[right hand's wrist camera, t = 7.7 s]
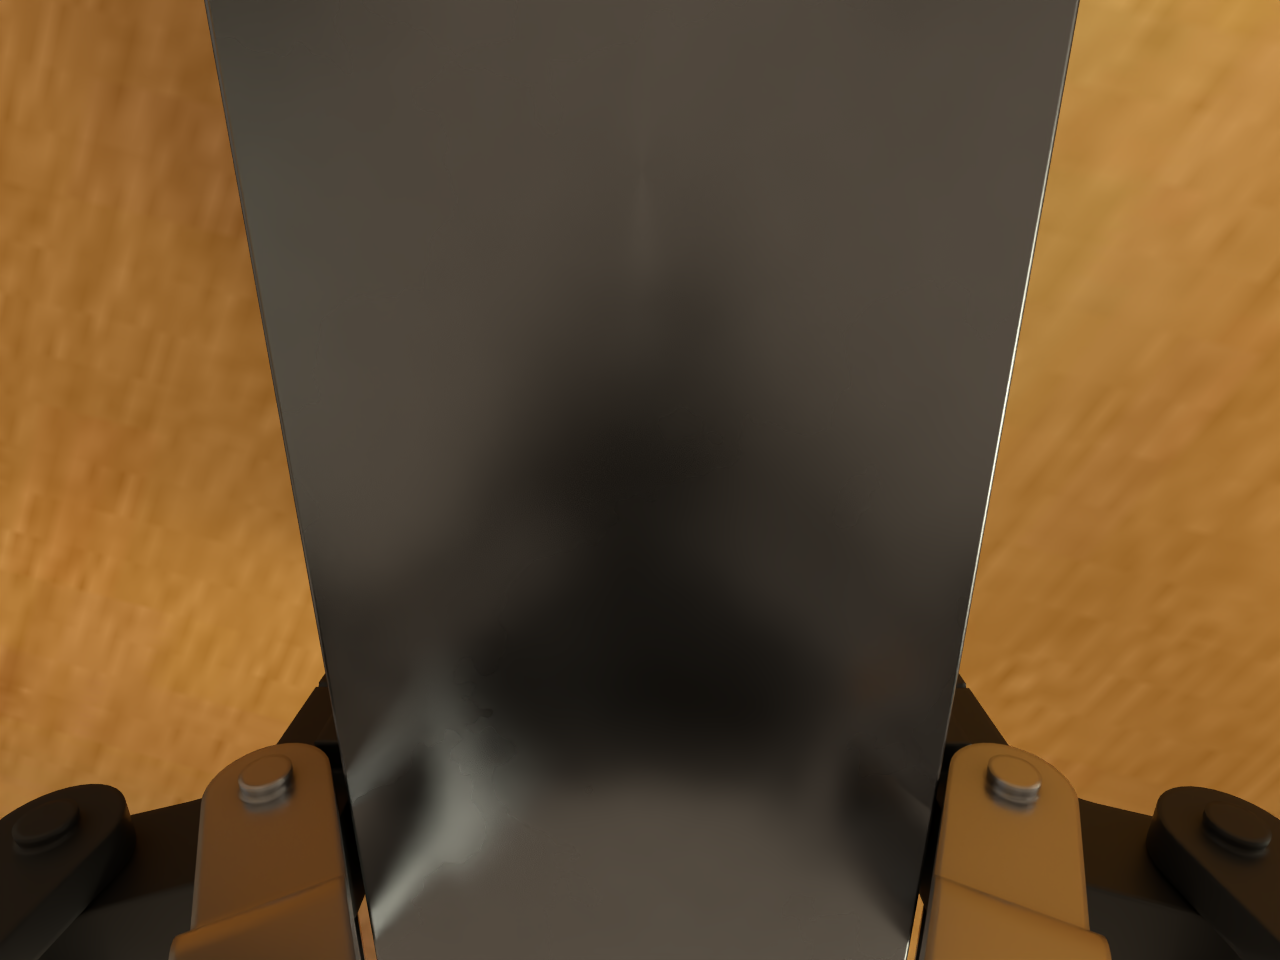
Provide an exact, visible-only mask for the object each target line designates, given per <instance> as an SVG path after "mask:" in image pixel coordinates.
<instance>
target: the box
mask: <svg viewBox="0 0 1280 960" xmlns="http://www.w3.org/2000/svg"><path fill="white" fill-rule="evenodd" d="M204 2H205V7H206V13H207V18H208V24H209V29H210V35H211V41H212V46H213V52H214V57H215V63H216V68H217V74H218V79H219V85H220V90H221V96H222V102H223V107H224V113H225V118H226V124H227V129H228V135H229V140H230V146H231V152H232V157H233V163H234V168H235V174H236V179H237V185H238V190H239V196H240V201H241V207H242V213H243V218H244V224H245V229H246V235H247V240H248V246H249V251H250V257H251V263H252V268H253V274H254V279H255V285H256V290H257V296H258V301H259V307H260V312H261V318H262V324H263V329H264V335H265V340H266V346H267V351H268V357H269V362H270V368H271V374H272V379H273V385H274V390H275V396H276V401H277V407H278V412H279V418H280V423H281V429H282V435H283V440H284V446H285V451H286V457H287V462H288V468H289V473H290V479H291V485H292V490H293V496H294V501H295V507H296V512H297V518H298V523H299V529H300V534H301V540H302V546H303V551H304V557H305V562H306V568H307V573H308V579H309V584H310V590H311V596H312V601H313V607H314V612H315V618H316V623H317V629H318V634H319V640H320V645H321V651H322V657H323V662H324V668H325V673H326V679H327V684H328V690H329V695H330V701H331V707H332V712H333V718H334V723H335V729H336V734H337V740H338V745H339V751H340V756H341V762H342V768H343V773H344V779H345V784H346V790H347V795H348V801H349V806H350V812H351V818H352V823H353V829H354V834H355V840H356V845H357V851H358V856H359V862H360V867H361V873H362V879H363V884H364V890H365V895H366V901H367V906H368V912H369V917H370V923H371V928H372V934H373V940H374V945H375V951H376V956H377V960H907V956H908V950H909V945H910V939H911V934H912V928H913V923H914V917H915V912H916V906H917V900H918V895H919V889H920V884H921V878H922V873H923V867H924V862H925V856H926V851H927V845H928V839H929V834H930V828H931V823H932V817H933V812H934V806H935V801H936V795H937V790H938V784H939V778H940V773H941V767H942V762H943V756H944V751H945V745H946V740H947V734H948V729H949V723H950V717H951V712H952V706H953V701H954V695H955V690H956V684H957V679H958V673H959V667H960V662H961V656H962V651H963V645H964V640H965V634H966V629H967V623H968V618H969V612H970V606H971V601H972V595H973V590H974V584H975V579H976V573H977V568H978V562H979V557H980V551H981V545H982V540H983V534H984V529H985V523H986V518H987V512H988V507H989V501H990V496H991V490H992V484H993V479H994V473H995V468H996V462H997V457H998V451H999V446H1000V440H1001V435H1002V429H1003V423H1004V418H1005V412H1006V407H1007V401H1008V396H1009V390H1010V385H1011V379H1012V374H1013V368H1014V362H1015V357H1016V351H1017V346H1018V340H1019V335H1020V329H1021V324H1022V318H1023V313H1024V307H1025V301H1026V296H1027V290H1028V285H1029V279H1030V274H1031V268H1032V263H1033V257H1034V252H1035V246H1036V240H1037V235H1038V229H1039V224H1040V218H1041V213H1042V207H1043V202H1044V196H1045V190H1046V185H1047V179H1048V174H1049V168H1050V163H1051V157H1052V152H1053V146H1054V141H1055V135H1056V129H1057V124H1058V118H1059V113H1060V107H1061V102H1062V96H1063V91H1064V85H1065V80H1066V74H1067V68H1068V63H1069V57H1070V52H1071V46H1072V41H1073V35H1074V30H1075V24H1076V19H1077V13H1078V7H1079V2H1080V0H204Z"/></svg>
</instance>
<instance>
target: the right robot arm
mask: <svg viewBox="0 0 1280 960" xmlns="http://www.w3.org/2000/svg"><path fill="white" fill-rule="evenodd" d="M919 894H920V896H921V899H922V901H923V904H924V905H923V911H922V916H921V922H920V927H919V934H918V940H917V947H916V953H915V960H1280V820H1279V819H1278V818H1276V817H1274V816H1273V815H1271V814H1270V813H1268V812H1267V811H1265V810H1263V809H1261V808H1259V807H1257V806H1256V805H1254V804H1252V803H1249V802H1247V801H1245V800H1243V799H1241V798H1238V797H1235V796H1233V795H1230V794H1227V793H1224V792H1220V791H1217V790H1213V789H1208V788H1202V787H1192V786H1188V787H1177V788H1172V789H1170V790H1167V791H1165V792H1164V793H1163V794H1162V795H1161V796H1160V798H1159V799H1158V802H1157V805H1156V808H1155V811H1154V814H1153V816H1148V815H1144V814H1140V813H1135V812H1131V811H1127V810H1122V809H1118V808H1114V807H1109V806H1105V805H1101V804H1097V803H1093V802H1089V801H1086V800H1083V799H1080V798H1078V797H1077V794H1076V792H1075V790H1074V788H1073V786H1072V785H1071V784H1070V782H1069V781H1068V780H1067V779H1066V778H1065V777H1064V775H1063V774H1062V773H1060V772H1059V771H1058V770H1057V769H1056V768H1054V767H1053V766H1052V765H1050V764H1049V763H1047V762H1046V761H1044V760H1043V759H1041V758H1039V757H1037V756H1035V755H1033V754H1031V753H1029V752H1026V751H1024V750H1021V749H1018V748H1015V747H1011V746H1009V745H1008V744H1007V742H1006V741H1005V740H1004V738H1003V737H1002V735H1001V734H1000V732H999V731H998V729H997V728H996V727H995V725H994V724H993V722H992V721H991V719H990V718H989V716H988V715H987V714H986V712H985V711H984V709H983V708H982V706H981V705H980V703H979V702H978V701H977V699H976V698H975V696H974V695H973V693H972V692H971V690H970V689H969V688H966V683H965V682H964V680H963V679H962V677H961V676H960V675H959V673H958V679H957V684H956V690H955V695H954V701H953V706H952V712H951V717H950V723H949V729H948V734H947V740H946V745H945V751H944V756H943V762H942V767H941V773H940V778H939V784H938V790H937V795H936V801H935V806H934V812H933V817H932V823H931V828H930V834H929V839H928V845H927V851H926V856H925V862H924V867H923V873H922V878H921V884H920V889H919ZM364 896H365V890H364V884H363V879H362V873H361V867H360V862H359V856H358V851H357V845H356V840H355V834H354V829H353V823H352V818H351V812H350V806H349V801H348V795H347V790H346V784H345V779H344V773H343V768H342V762H341V756H340V751H339V745H338V740H337V734H336V729H335V723H334V718H333V712H332V707H331V701H330V695H329V690H328V684H327V679H326V673H325V674H324V676H323V677H322V679H321V680H320V682H319V687H316V688H315V689H314V691H313V692H312V693H311V695H310V696H309V698H308V699H307V701H306V702H305V704H304V705H303V707H302V708H301V710H300V711H299V712H298V714H297V715H296V717H295V718H294V720H293V721H292V723H291V724H290V726H289V727H288V729H287V730H286V731H285V733H284V734H283V736H282V737H281V739H280V740H279V742H278V743H277V745H273V746H269V747H265V748H262V749H259V750H256V751H254V752H251V753H249V754H247V755H245V756H243V757H241V758H239V759H237V760H236V761H234V762H233V763H231V764H230V765H228V766H227V767H226V768H224V769H223V770H222V771H221V772H220V773H218V774H217V776H216V777H215V778H214V779H213V780H212V781H211V782H210V784H209V785H208V786H207V788H206V790H205V792H204V794H203V797H202V798H201V799H198V800H194V801H190V802H186V803H182V804H177V805H173V806H169V807H164V808H160V809H156V810H151V811H147V812H143V813H138V814H134V815H130V813H129V810H128V807H127V804H126V800H125V798H124V796H123V794H122V793H121V792H120V791H119V790H118V789H116V788H114V787H111V786H108V785H103V784H86V785H78V786H73V787H68V788H65V789H61V790H58V791H55V792H52V793H49V794H46V795H44V796H41V797H39V798H37V799H35V800H32V801H30V802H28V803H26V804H25V805H23V806H21V807H19V808H17V809H16V810H14V811H13V812H11V813H9V814H8V815H6V816H5V817H3V818H2V819H1V820H0V960H365V953H364V947H363V940H362V934H361V927H360V921H359V916H358V910H359V908H360V905H361V903H362V901H363V898H364Z"/></svg>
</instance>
